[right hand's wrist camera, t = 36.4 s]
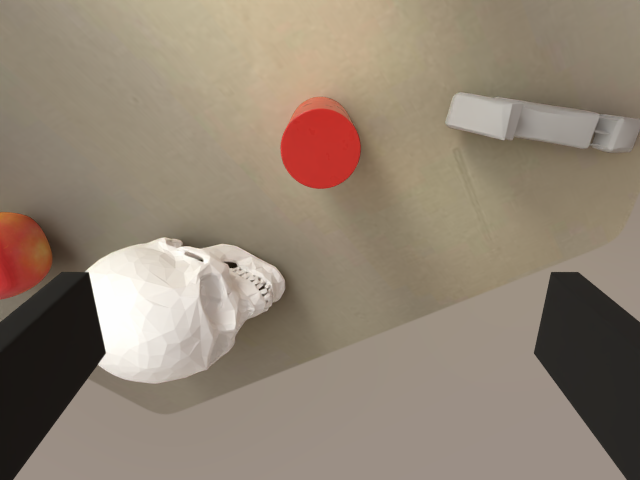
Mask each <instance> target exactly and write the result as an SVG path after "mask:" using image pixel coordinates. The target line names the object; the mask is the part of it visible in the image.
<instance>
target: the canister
mask: <svg viewBox="0 0 640 480" xmlns="http://www.w3.org/2000/svg"><path fill="white" fill-rule="evenodd" d="M360 152H361V145H360V139H359V135H358V133H357V131H356V129H355V127H354V125H353V123H352V121H351V119H350V117H349V116H348V114H347V112H346V110H345V109H344V108H343V107H342V106H341V105H340V104H339V103H338V102H336V101H335V100H332V99H330V98H326V97H315V98H311V99H309V100H306V101H305V102H303V103H302V104H301V105H300V106H299V107H298V108H297V109H296V110H295V112H294V114H293V116H292V118H291V120H290V122H289V124H288V126H287V127H286V129H285V131H284V134H283V136H282V140H281V157H282V160H283V164H284V166H285V168H286V169H287V171H288V172H289V174H290V175H291V176H292V177H293V178H294V179H295V180H296V181H298V182H299V183H301V184H303V185H305V186H308V187H311V188H317V189H325V188H330V187H334V186H336V185H339V184H340V183H342V182H344V181H345V180H346V179H347V178H348V177H349V176H350V175H351V174H352V173H353V171H354V170H355V168H356V166H357V164H358V162H359V158H360Z"/></svg>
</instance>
